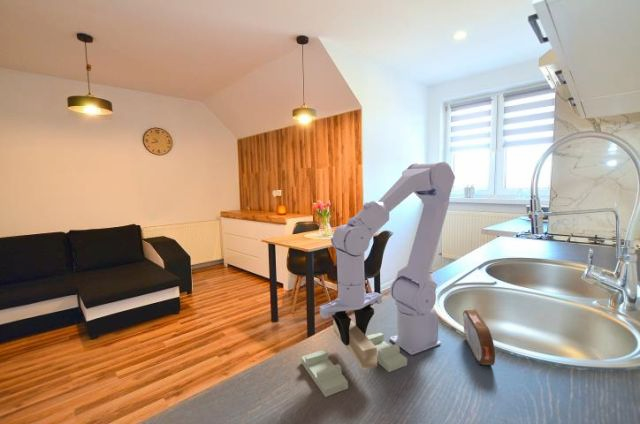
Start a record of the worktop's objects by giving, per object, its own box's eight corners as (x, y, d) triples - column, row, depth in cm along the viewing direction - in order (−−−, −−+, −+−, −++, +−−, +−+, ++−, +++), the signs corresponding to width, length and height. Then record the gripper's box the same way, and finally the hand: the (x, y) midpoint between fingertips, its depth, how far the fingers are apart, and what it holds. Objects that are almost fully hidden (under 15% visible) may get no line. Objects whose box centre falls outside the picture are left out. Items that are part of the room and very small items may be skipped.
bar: (345, 328, 75) (344, 313, 74) (377, 366, 59) (376, 347, 59) (333, 330, 74) (333, 315, 73) (363, 370, 58) (362, 350, 58)
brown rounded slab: (496, 374, 62) (497, 335, 61) (479, 372, 63) (480, 334, 62) (474, 335, 77) (475, 303, 75) (460, 334, 77) (461, 303, 76)
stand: (374, 339, 77) (374, 327, 76) (407, 365, 66) (407, 352, 66) (301, 363, 68) (300, 350, 68) (325, 397, 57) (324, 382, 57)
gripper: (368, 270, 71) (369, 324, 73) (312, 281, 65) (315, 340, 67) (387, 278, 65) (388, 337, 67) (327, 292, 59) (330, 357, 61)
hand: (352, 340), depth 66 cm, fingers closed on bar, 3 cm apart
